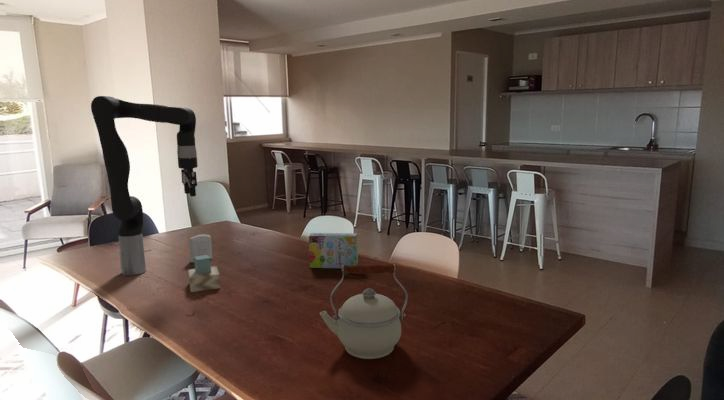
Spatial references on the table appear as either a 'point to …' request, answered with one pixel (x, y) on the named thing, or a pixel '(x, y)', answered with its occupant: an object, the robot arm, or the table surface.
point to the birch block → (204, 280)
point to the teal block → (202, 264)
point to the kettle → (367, 318)
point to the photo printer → (200, 246)
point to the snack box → (333, 250)
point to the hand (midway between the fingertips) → (190, 194)
